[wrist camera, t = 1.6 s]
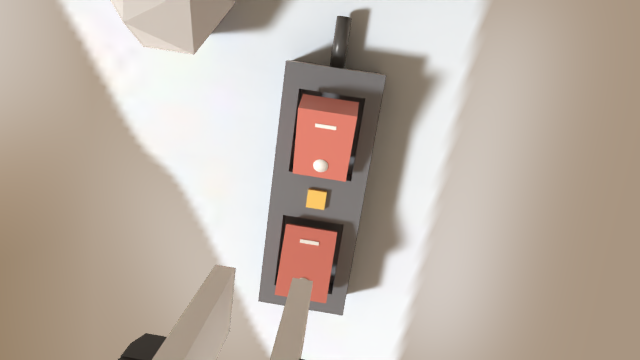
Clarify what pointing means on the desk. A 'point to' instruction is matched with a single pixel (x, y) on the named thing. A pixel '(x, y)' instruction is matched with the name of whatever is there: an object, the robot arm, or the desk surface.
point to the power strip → (313, 192)
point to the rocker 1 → (324, 137)
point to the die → (172, 21)
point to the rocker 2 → (306, 259)
